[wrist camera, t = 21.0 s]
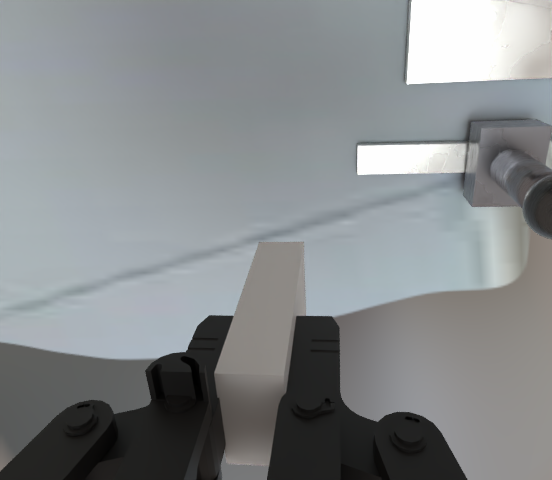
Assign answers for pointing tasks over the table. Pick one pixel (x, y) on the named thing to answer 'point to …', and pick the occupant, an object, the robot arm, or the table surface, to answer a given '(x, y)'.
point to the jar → (534, 2)
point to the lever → (511, 169)
